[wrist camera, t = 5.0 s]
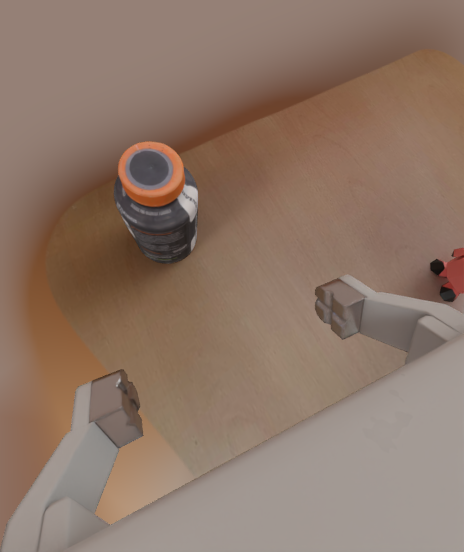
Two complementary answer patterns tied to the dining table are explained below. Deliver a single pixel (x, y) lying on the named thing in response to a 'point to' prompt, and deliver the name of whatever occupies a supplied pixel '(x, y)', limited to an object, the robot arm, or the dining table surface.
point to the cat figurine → (451, 275)
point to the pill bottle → (157, 201)
